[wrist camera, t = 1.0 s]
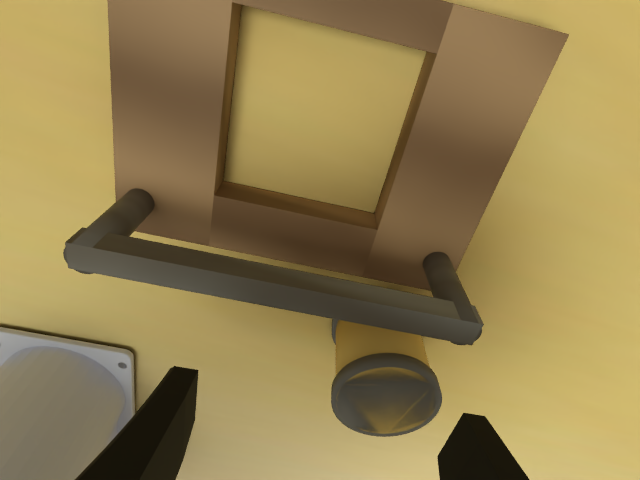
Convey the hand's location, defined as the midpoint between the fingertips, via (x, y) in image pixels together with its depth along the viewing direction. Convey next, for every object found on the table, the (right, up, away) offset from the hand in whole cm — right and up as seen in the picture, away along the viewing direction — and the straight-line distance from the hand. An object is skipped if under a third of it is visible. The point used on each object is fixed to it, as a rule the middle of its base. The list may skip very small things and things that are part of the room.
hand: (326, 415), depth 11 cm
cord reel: (+3, 0, +11) cm, 11 cm away
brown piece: (0, +9, +6) cm, 11 cm away
